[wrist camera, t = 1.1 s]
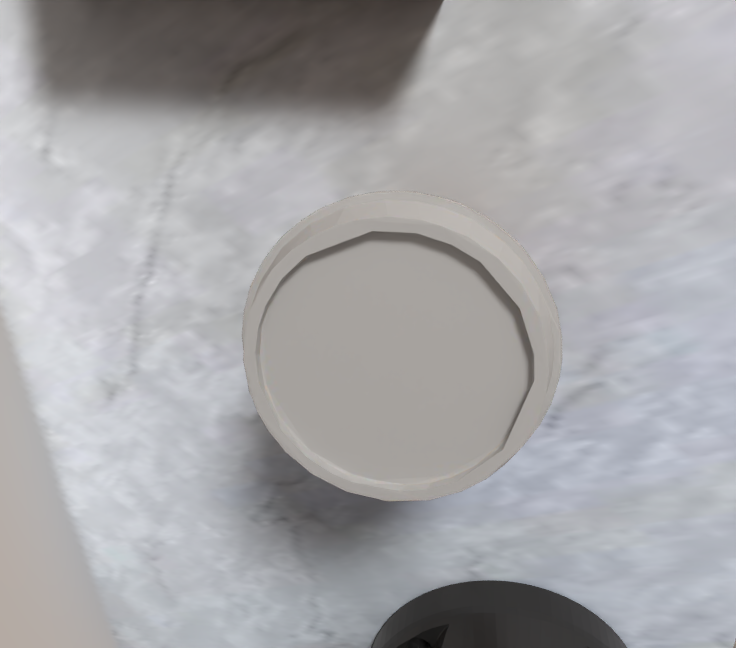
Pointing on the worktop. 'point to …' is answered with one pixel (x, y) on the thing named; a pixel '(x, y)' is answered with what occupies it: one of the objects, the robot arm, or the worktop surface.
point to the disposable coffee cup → (400, 345)
